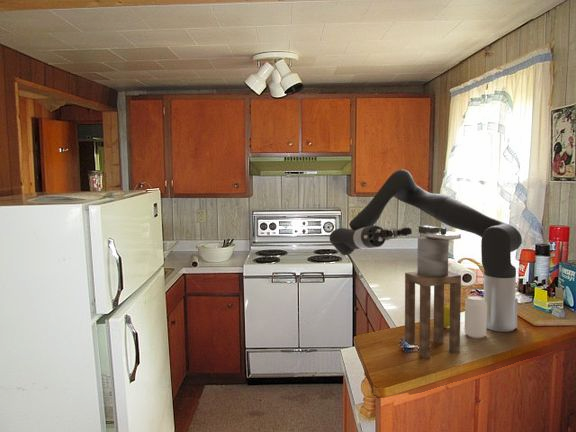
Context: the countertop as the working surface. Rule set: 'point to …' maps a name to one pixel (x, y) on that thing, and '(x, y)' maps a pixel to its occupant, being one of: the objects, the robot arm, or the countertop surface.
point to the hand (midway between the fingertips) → (400, 231)
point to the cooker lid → (438, 233)
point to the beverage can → (475, 316)
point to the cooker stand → (434, 274)
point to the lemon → (446, 315)
